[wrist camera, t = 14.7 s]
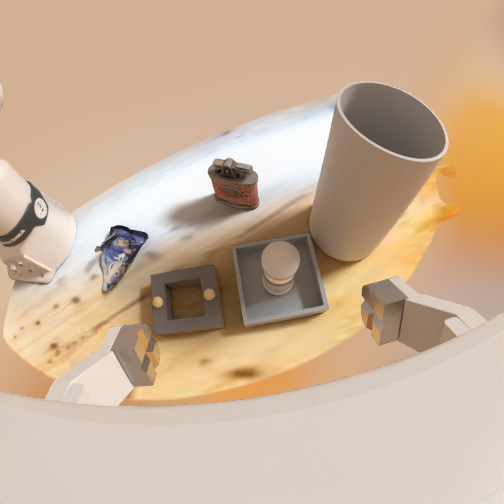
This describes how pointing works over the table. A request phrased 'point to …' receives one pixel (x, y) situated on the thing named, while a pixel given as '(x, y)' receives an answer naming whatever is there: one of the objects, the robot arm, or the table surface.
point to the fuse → (279, 267)
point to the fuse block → (184, 278)
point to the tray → (278, 307)
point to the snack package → (120, 251)
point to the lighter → (234, 184)
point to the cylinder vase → (372, 167)
